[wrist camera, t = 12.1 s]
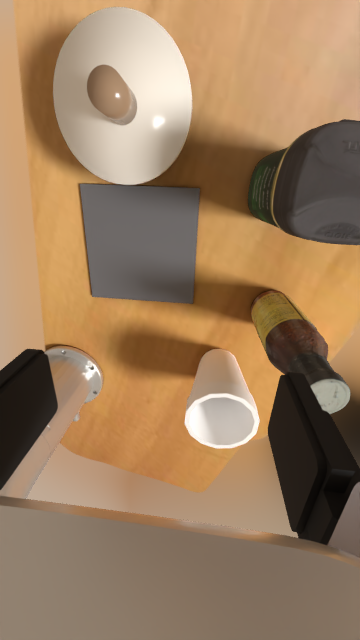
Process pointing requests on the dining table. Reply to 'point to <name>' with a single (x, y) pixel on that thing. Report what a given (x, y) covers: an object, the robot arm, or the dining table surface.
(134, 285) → the mat
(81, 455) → the dining table surface
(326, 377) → the sauce bottle
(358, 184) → the coffee jar
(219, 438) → the foam cup
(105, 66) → the lid
